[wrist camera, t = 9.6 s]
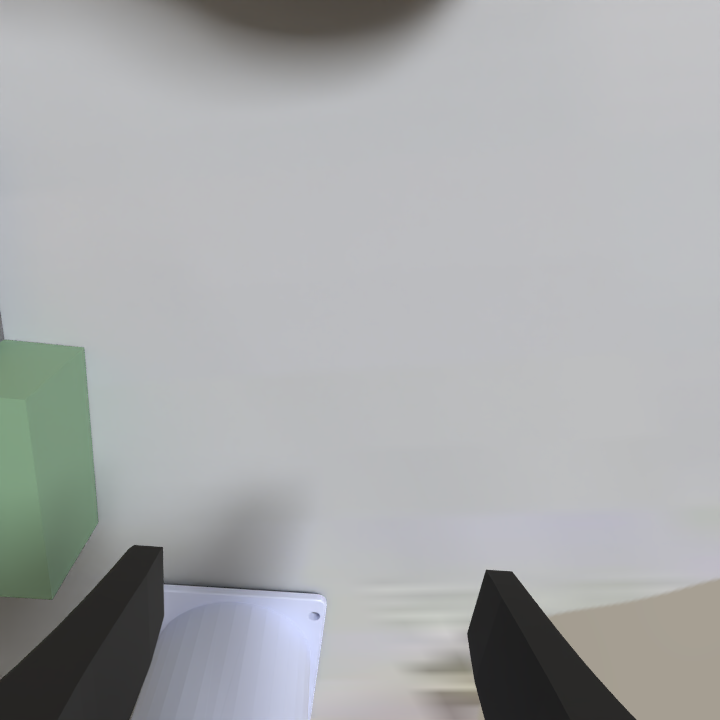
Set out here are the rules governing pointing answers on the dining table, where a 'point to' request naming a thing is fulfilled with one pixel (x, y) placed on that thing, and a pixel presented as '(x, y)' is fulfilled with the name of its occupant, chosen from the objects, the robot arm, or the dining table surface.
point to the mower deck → (43, 466)
